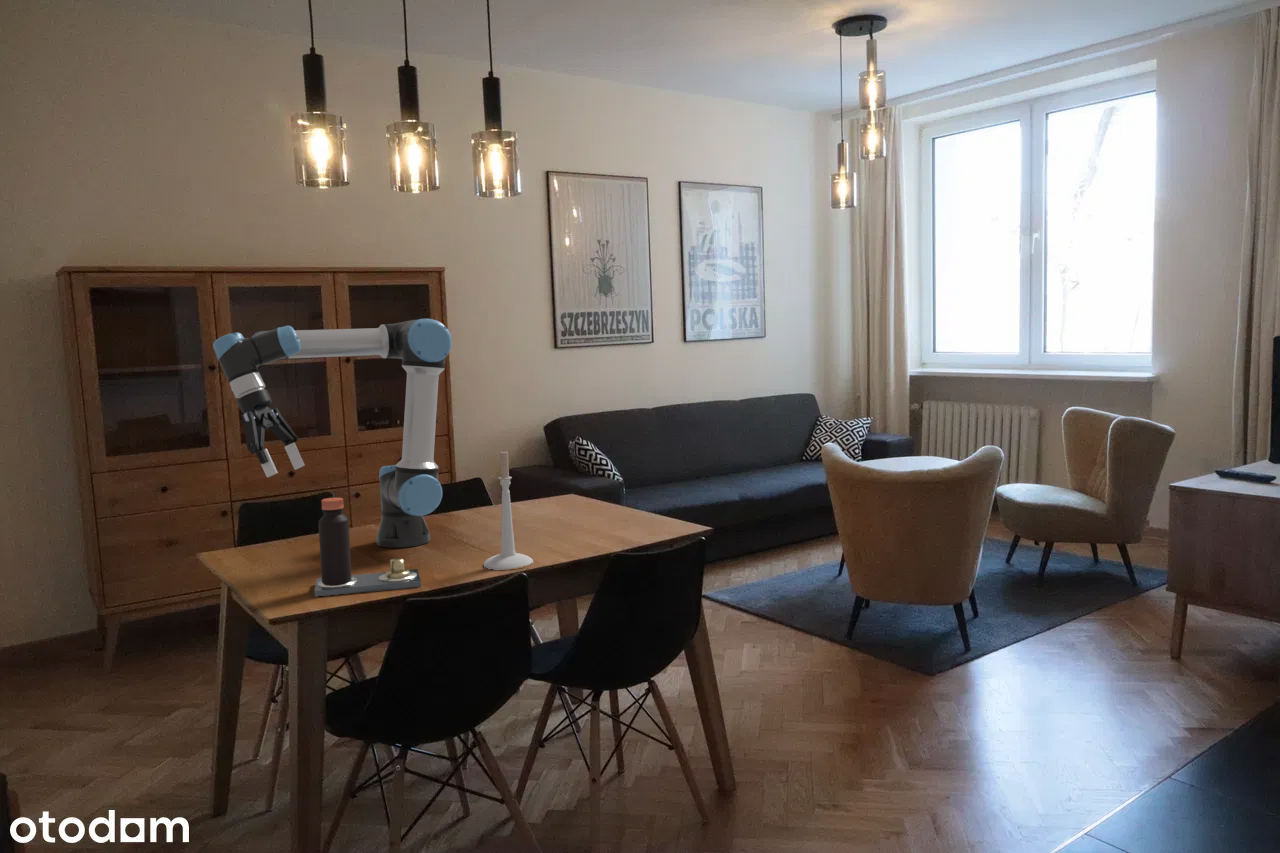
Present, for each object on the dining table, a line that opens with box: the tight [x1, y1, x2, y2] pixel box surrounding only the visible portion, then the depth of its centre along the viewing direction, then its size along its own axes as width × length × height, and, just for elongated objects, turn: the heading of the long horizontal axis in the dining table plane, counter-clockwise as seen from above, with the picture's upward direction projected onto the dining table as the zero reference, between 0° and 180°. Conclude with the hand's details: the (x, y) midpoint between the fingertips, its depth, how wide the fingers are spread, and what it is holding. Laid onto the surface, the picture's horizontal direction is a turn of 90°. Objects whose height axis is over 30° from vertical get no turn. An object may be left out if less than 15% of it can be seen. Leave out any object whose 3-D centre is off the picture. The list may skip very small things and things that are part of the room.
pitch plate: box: [314, 557, 422, 598], centre depth 224 cm, size 24×12×6 cm, turn 107°
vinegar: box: [318, 497, 352, 585], centre depth 221 cm, size 7×7×20 cm
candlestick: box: [483, 451, 534, 571], centre depth 240 cm, size 13×13×30 cm
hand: (286, 471), depth 233 cm, fingers open, 13 cm apart
